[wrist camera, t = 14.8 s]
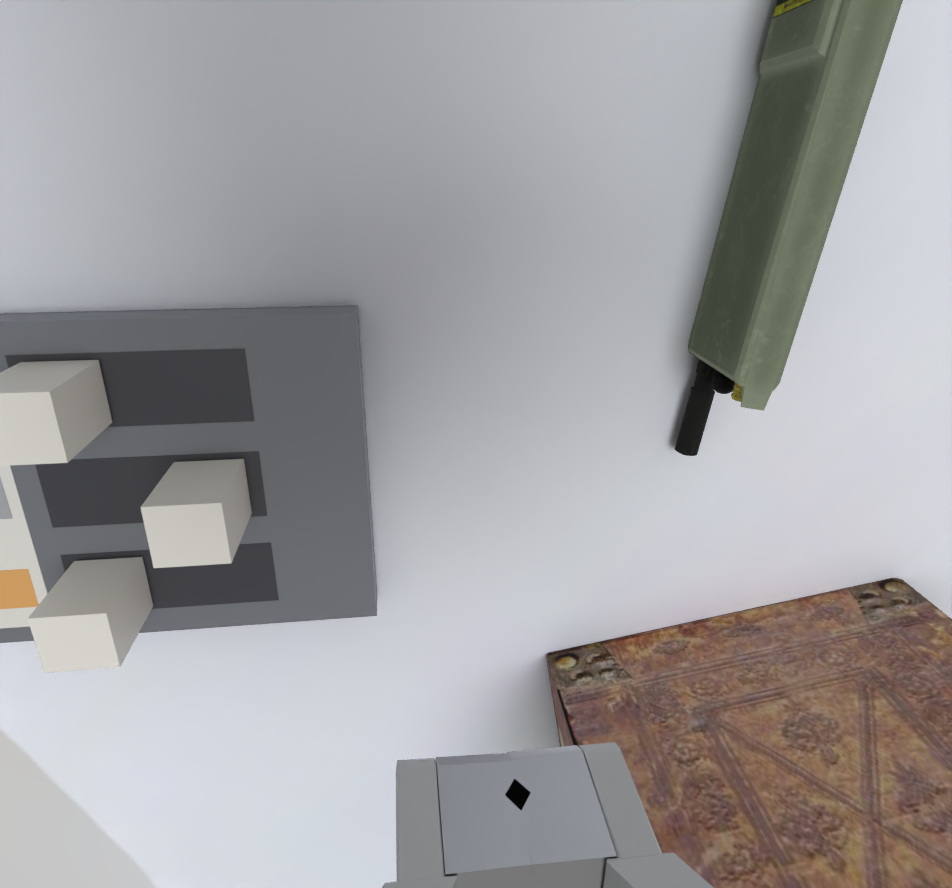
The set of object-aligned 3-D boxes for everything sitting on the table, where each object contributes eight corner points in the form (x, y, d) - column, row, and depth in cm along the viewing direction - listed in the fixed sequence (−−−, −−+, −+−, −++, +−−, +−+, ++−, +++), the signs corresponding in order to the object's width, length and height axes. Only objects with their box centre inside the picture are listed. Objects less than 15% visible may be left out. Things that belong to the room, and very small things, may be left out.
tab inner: (20, 361, 32) (-43, 394, 27) (98, 359, 32) (49, 391, 27) (37, 425, 33) (-20, 466, 28) (112, 422, 33) (67, 462, 29)
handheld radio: (845, -39, 31) (704, 448, 40) (780, -53, 31) (652, 442, 40) (949, -91, 25) (755, 497, 34) (870, -109, 25) (695, 491, 34)
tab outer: (73, 561, 36) (27, 618, 31) (142, 556, 36) (106, 613, 32) (87, 610, 37) (44, 673, 32) (153, 605, 37) (120, 667, 33)
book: (902, 575, 46) (1669, 1185, 18) (890, 678, 50) (1517, 1315, 22) (542, 653, 45) (786, 1426, 17) (558, 752, 48) (780, 1522, 21)
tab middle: (173, 462, 34) (140, 507, 30) (244, 458, 35) (221, 502, 30) (184, 516, 36) (153, 568, 31) (251, 513, 36) (231, 563, 31)
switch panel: (-104, 315, 32) (-135, 325, 30) (357, 305, 35) (355, 313, 33) (-2, 622, 39) (-22, 645, 37) (377, 595, 41) (376, 616, 40)
